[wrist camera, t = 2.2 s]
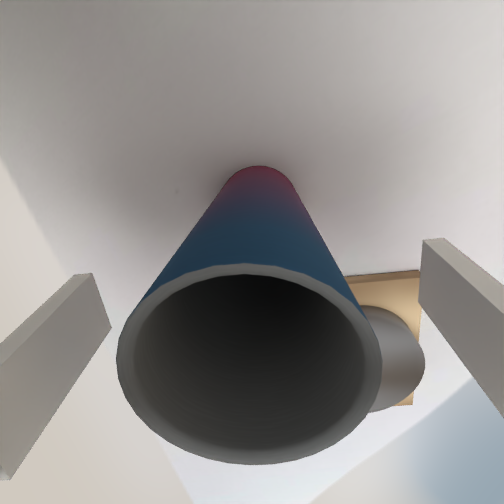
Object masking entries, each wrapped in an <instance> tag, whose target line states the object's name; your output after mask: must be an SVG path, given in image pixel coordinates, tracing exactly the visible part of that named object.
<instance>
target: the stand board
mask: <svg viewBox="0 0 504 504" xmlns="http://www.w3.org/2000/svg"><path fill="white" fill-rule="evenodd" d="M344 278H345V280H346V282H347V284H348V285H349V287H350V289H351V291H352V293H353V294H354V296H355V298H356V300H357V302H358V303H359V305H360V307H361V309H362V311H363V312H364V314H365V316H366V318H367V320H368V321H369V323H370V325H371V327H372V329H373V331H374V333H375V335H376V337H377V339H378V342H379V347H380V351H381V356H382V360H383V363H382V382H381V385H380V388H379V391H378V394H377V397H376V401H375V402H374V404H373V406H372V407H371V409H370V410H369V412H368V413H371V412H376V411H380V410H383V409H386V408H389V407H391V406H401V405H412V404H413V394H414V390H415V389H416V387H417V386H418V385H419V383H420V381H421V379H422V377H423V374H424V370H425V358H424V353H423V351H422V348H421V347H420V345H419V343H418V341H419V331H420V320H421V310H422V307H421V305H420V304H419V303H418V294H419V281H420V271H419V270H415V271H404V272H393V273H383V274H372V275H361V276H350V277H344Z"/></svg>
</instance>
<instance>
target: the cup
mask: <svg viewBox="0 0 504 504" xmlns="http://www.w3.org/2000/svg"><path fill="white" fill-rule="evenodd" d="M382 363H383V360H382V356H381V351H380V347H379V342H378V339H377V337H376V335H375V333H374V331H373V329H372V327H371V325H370V323H369V321H368V320H367V318H366V316H365V314H364V312H363V311H362V309H361V307H360V305H359V303H358V302H357V300H356V298H355V296H354V294H353V293H352V291H351V289H350V287H349V285H348V284H347V282H346V280H345V278H344V276H343V275H342V273H341V271H340V269H339V268H338V266H337V264H336V262H335V260H334V259H333V257H332V255H331V253H330V251H329V250H328V248H327V246H326V244H325V242H324V241H323V239H322V237H321V235H320V233H319V232H318V230H317V228H316V226H315V225H314V223H313V221H312V219H311V217H310V216H309V214H308V212H307V210H306V208H305V207H304V205H303V203H302V201H301V199H300V198H299V196H298V194H297V192H296V190H295V189H294V187H293V185H292V183H291V182H290V181H289V180H288V178H287V177H286V176H284V175H283V174H282V173H281V172H279V171H277V170H275V169H273V168H269V167H266V166H252V167H248V168H245V169H242V170H240V171H239V172H237V173H235V174H234V175H233V176H232V177H231V178H230V179H229V180H228V181H227V183H226V184H225V185H224V187H223V188H222V190H221V191H220V192H219V194H218V195H217V196H216V198H215V199H214V201H213V202H212V203H211V205H210V206H209V207H208V209H207V210H206V212H205V213H204V214H203V216H202V217H201V218H200V220H199V221H198V222H197V224H196V225H195V227H194V228H193V229H192V231H191V232H190V233H189V235H188V236H187V238H186V239H185V240H184V242H183V243H182V244H181V246H180V247H179V249H178V250H177V251H176V253H175V254H174V255H173V257H172V258H171V260H170V261H169V262H168V264H167V265H166V266H165V268H164V269H163V271H162V272H161V273H160V275H159V276H158V277H157V279H156V280H155V282H154V283H153V284H152V286H151V287H150V288H149V290H148V291H147V292H146V294H145V295H144V297H143V298H142V299H141V301H140V302H139V303H138V305H137V306H136V308H135V309H134V310H133V312H132V313H131V314H130V316H129V317H128V319H127V321H126V323H125V325H124V328H123V330H122V332H121V335H120V337H119V341H118V348H117V355H116V364H117V372H118V379H119V382H120V385H121V387H122V390H123V393H124V395H125V398H126V399H127V401H128V402H129V404H130V405H131V407H132V408H133V410H134V411H135V413H136V414H137V416H139V417H140V419H141V420H142V421H143V422H144V423H145V424H146V425H147V426H148V427H149V428H150V429H151V430H153V431H154V432H155V433H157V434H158V435H159V436H161V437H162V438H164V439H165V440H166V441H168V442H170V443H172V444H173V445H175V446H177V447H179V448H181V449H183V450H185V451H187V452H190V453H193V454H195V455H198V456H201V457H204V458H207V459H211V460H216V461H221V462H225V463H232V464H243V465H266V464H277V463H283V462H289V461H295V460H298V459H301V458H304V457H307V456H310V455H313V454H316V453H318V452H320V451H322V450H324V449H326V448H328V447H330V446H332V445H334V444H336V443H337V442H339V441H340V440H341V439H343V438H344V437H346V436H347V435H348V434H350V433H351V432H352V431H353V430H354V429H355V428H356V427H357V426H358V425H359V424H360V423H361V422H362V421H363V419H364V418H365V417H366V415H367V414H368V412H369V410H370V409H371V407H372V406H373V404H374V402H375V401H376V397H377V394H378V391H379V388H380V385H381V382H382Z"/></svg>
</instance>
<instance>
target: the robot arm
mask: <svg viewBox="0 0 504 504" xmlns="http://www.w3.org/2000/svg"><path fill="white" fill-rule="evenodd" d="M418 303H419V304H420V305H421V307H422V308H423V310H424V311H425V312H426V314H427V315H428V316H429V318H430V319H431V320H432V322H433V323H434V324H435V326H436V327H437V328H438V330H439V331H440V333H441V334H442V335H443V337H444V338H445V339H446V341H447V342H448V343H449V345H450V346H451V347H452V349H453V350H454V351H455V353H456V354H457V356H458V357H459V358H460V360H461V361H462V362H463V364H464V365H465V366H466V368H467V369H468V370H469V372H470V373H471V375H472V376H473V377H474V379H475V380H476V381H477V383H478V384H479V385H480V387H481V388H482V389H483V391H484V392H485V393H486V395H487V396H488V398H489V399H490V400H491V401H492V403H493V404H494V406H495V407H496V408H497V410H498V411H499V412H500V414H501V415H502V416H503V418H504V285H502V284H501V283H500V282H499V281H497V280H496V279H495V278H494V277H492V276H491V275H490V274H489V273H487V272H486V271H485V270H484V269H482V268H481V267H480V266H479V265H477V264H476V263H475V262H474V261H472V260H471V259H470V258H469V257H467V256H466V255H465V254H464V253H462V252H461V251H460V250H458V249H457V248H456V247H455V246H453V245H452V244H451V243H450V242H448V241H447V240H446V239H445V238H438V239H428V240H423V244H422V256H421V269H420V281H419V294H418ZM111 328H112V327H111V325H110V322H109V319H108V316H107V313H106V311H105V308H104V305H103V302H102V299H101V297H100V294H99V291H98V288H97V285H96V283H95V280H94V277H93V274H92V273H88V274H78V275H74V276H73V277H72V278H70V279H69V280H68V281H67V282H66V283H65V284H64V285H63V286H62V287H61V288H60V289H59V290H58V291H57V292H55V293H54V294H53V295H52V296H51V297H50V298H49V299H48V300H47V301H46V302H45V303H44V304H43V305H42V306H40V307H39V308H38V309H37V310H36V311H35V312H34V313H33V314H32V315H31V316H30V317H29V318H27V319H26V320H25V321H24V322H23V323H22V324H21V325H20V326H19V327H18V328H17V329H16V330H15V331H14V332H13V333H11V334H10V335H9V336H8V337H7V338H6V339H5V340H4V341H3V342H2V343H1V344H0V480H10V479H11V478H12V476H13V475H14V473H15V472H16V470H17V469H18V467H19V466H20V464H21V463H22V462H23V460H24V459H25V457H26V455H27V454H28V452H29V451H30V450H31V448H32V447H33V445H34V443H35V442H36V440H37V439H38V438H39V436H40V435H41V433H42V431H43V430H44V428H45V427H46V426H47V424H48V423H49V421H50V420H51V418H52V416H53V415H54V414H55V412H56V411H57V409H58V408H59V406H60V404H61V403H62V401H63V400H64V399H65V397H66V396H67V394H68V393H69V391H70V390H71V388H72V386H73V385H74V384H75V382H76V381H77V379H78V377H79V376H80V375H81V373H82V371H83V370H84V369H85V367H86V366H87V364H88V363H89V361H90V360H91V358H92V357H93V355H94V354H95V352H96V351H97V349H98V348H99V346H100V345H101V343H102V342H103V340H104V339H105V337H106V336H107V334H108V333H109V331H110V330H111Z"/></svg>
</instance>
